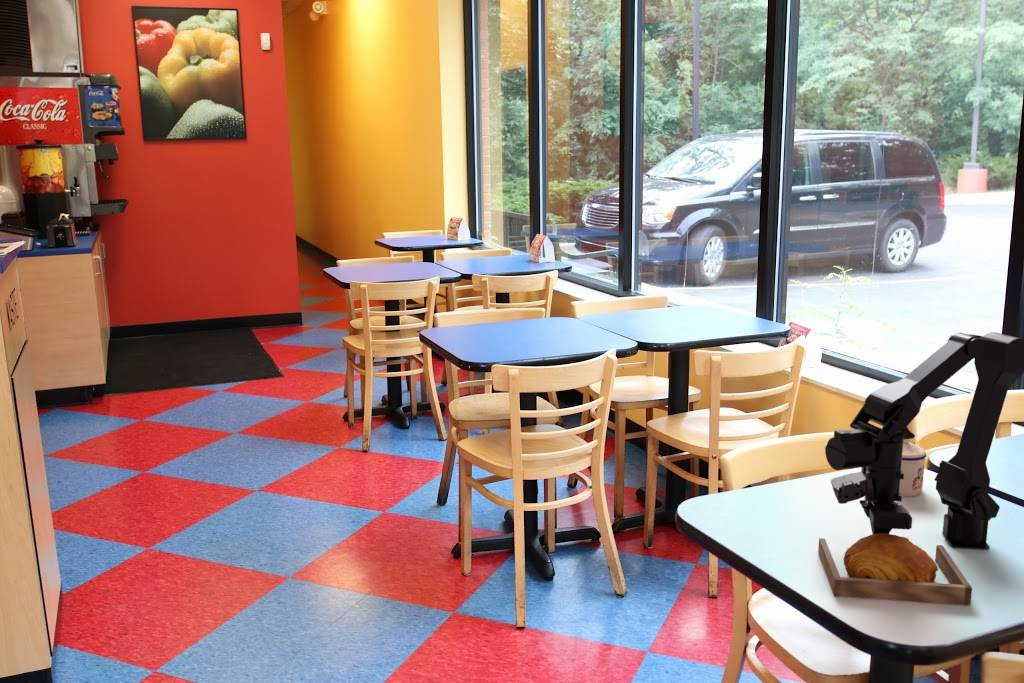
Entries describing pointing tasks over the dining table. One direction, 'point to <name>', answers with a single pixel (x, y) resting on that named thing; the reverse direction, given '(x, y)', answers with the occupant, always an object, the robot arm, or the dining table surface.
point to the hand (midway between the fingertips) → (877, 544)
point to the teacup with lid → (912, 469)
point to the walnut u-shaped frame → (900, 583)
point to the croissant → (889, 559)
